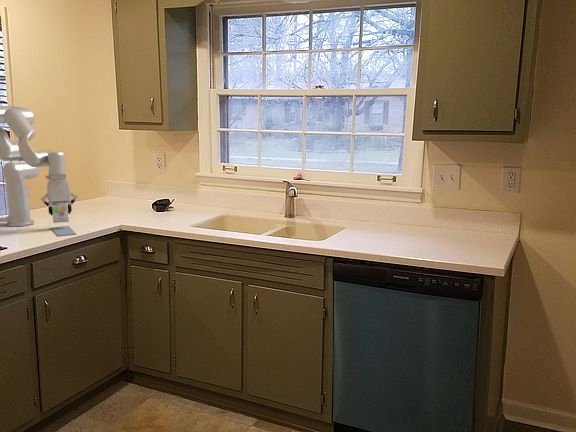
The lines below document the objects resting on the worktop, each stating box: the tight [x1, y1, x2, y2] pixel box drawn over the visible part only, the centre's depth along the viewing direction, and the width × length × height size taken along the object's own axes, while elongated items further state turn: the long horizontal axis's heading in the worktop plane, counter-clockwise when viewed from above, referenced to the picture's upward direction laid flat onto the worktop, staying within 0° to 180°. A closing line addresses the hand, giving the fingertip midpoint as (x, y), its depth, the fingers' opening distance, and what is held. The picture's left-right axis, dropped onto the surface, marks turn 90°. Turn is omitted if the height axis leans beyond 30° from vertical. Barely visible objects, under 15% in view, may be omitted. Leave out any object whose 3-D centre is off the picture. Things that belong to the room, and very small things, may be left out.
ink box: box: [51, 201, 70, 224], centre depth 260 cm, size 7×4×13 cm, turn 114°
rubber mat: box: [50, 225, 77, 237], centre depth 257 cm, size 8×20×1 cm, turn 31°
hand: (60, 213), depth 260 cm, fingers closed on ink box, 7 cm apart
